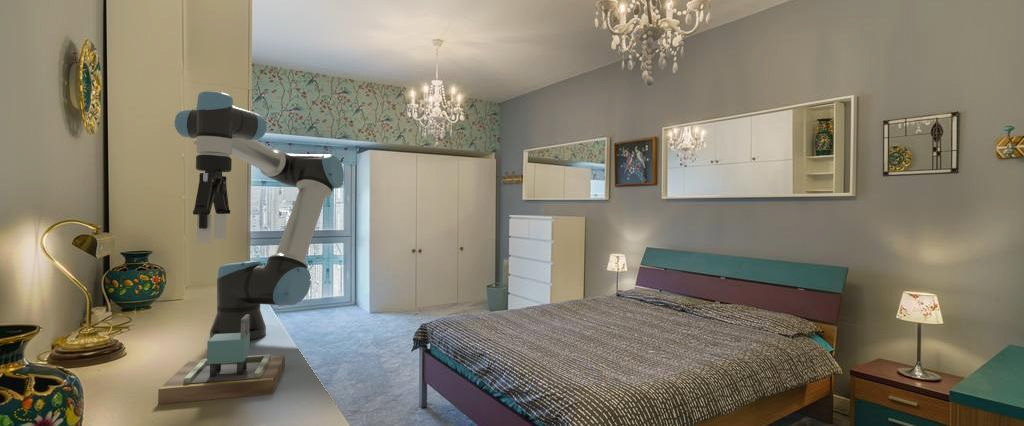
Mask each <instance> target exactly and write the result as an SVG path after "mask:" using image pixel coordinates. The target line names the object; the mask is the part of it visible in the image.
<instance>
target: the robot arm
mask: <svg viewBox="0 0 1024 426" xmlns="http://www.w3.org/2000/svg"><path fill="white" fill-rule="evenodd" d="M196 102H197V103H196V107H195V109H193V108H192V109H187V110H181V111H179V112H177V114H176V115H175V118H174V127H175V130H176V132H177V133H178V134H179V135H180V136H182V137H184V138H187V139H188V138H190V139H196V140H194V141H193V144H194V145H195V146H196V147H195V148H196V149H195V150H196V153H197V155H196V157H195V169H196V171H199V175H198V177H199V180H198V187H197V193H196V198H195V203H194V208H193V210H192V214H193V215H197V218H196V220H197V222H196V223H197V224H196V225H197V226H196V227H197V228H196V243H197V244H198V243H199V244H202V243H203V244H204V243H207V244H208V243H212V220H213V239H214V240H215V239H217V240H220V239H222V240H225V239H227V220H228V219H227V218H228V217H227V216H228V215H230V214H231V209H230V207H229V205H230V204H229V194H228V188H227V187H228V186H227V176H223V173H230V172H232V167H233V165H232V163H233V162H232V161H233V160H232V158H231V157H230V156H233V157H235V158H237V159H239V160H241V161H243V162H245V163H247V164H249V165H250V166H253V167H255V168H257V169H259V171H260V173H261V174H262V175H264V176H266V177H268V178H269V179H272V180H274V181H276V182H279V183H281V184H283V185H287V186H290V187H294V188H297V190H298V193H297V196H296V199H295V201H294V204H293V205H292V206H293V207H292V208H291V212H290V214H289V218H288V220H287V222H286V226H285V227H284V231H283V233H282V236H281V240H280V242H279V244H278V248H276V249H277V250H276V253H275V254H272V255H270V256H269V257H268V258H267V261H266V264H265V265H262V264H263V263H262V261H261V260H248V261H246V260H245V261H241V262H232V263H225V264H222V265H220V266H219V267H218V270H217V278H216V284H217V286H216V290H217V291H216V292H217V293H216V314H215V318H214V319H213V322H212V325H211V328H210V330H209V340H210V339H211V338H212V337H213V336H214V335H215V334H228V333H241V319H242V318H243V317H244V316H245V315H246V314H250V317H249V332H250V341H252V340H255V339H260V338H262V337H265V335H266V334H267V325H266V322H265V319H264V316H263V314H262V312H261V305H270V306H271V305H272V306H273V305H274V306H279V307H285V306H295V305H297V304H298V303H301V302H302V301H303V300H304V299H305V297H306V296H307V295H308V293H309V290H310V288H311V283H312V282H311V279H312V276H311V273H310V271H309V270H308V265H307V263H306V261H305V259H306V258H307V254H308V252H309V249H310V245H311V243H312V239H313V236H314V233H315V230H316V227H317V225H318V224H317V223H318V222H319V218H320V216H321V212H322V209H323V207H324V203H325V200H326V199H328V198H330V197H331V196H332V193H333V191H334V189H339V188H341V187H342V185H343V184H344V181H345V180H344V178H345V173H344V167H343V164H342V162H341V160H340V159H339V157H338V156H336V155H335V154H326V153H322V154H309V153H308V154H306V153H305V154H303V153H301V154H300V153H286V152H283V151H282V150H279V149H272V148H270V147H268V145H267V146H266V145H265V144H263V143H261V142H259V141H258V140H260V139H261V138H263V137H264V136H265V134H266V132H267V122H266V120H265V118H264V117H263V116H262V115H261V114H258V113H256V112H255V111H252V110H251V111H250V110H247V109H243V108H240V107H236V106H234V104H235V103H234V100H233V97H232V96H231V95H230V94H227V93H225V92H219V91H210V90H209V91H207V90H206V91H202V92H200V93H199V94H197V101H196ZM200 171H201V172H200ZM213 206H214V207H213ZM212 207H213V208H214V212H215V213H214V214H213V215H211V211H212ZM212 218H213V219H212Z"/></svg>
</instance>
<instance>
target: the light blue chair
mask: <svg viewBox="0 0 1024 426" xmlns="http://www.w3.org/2000/svg"><path fill="white" fill-rule="evenodd" d="M249 317H250V314H246V315H245V316H244V317H243V318H242V319H241V333H228V334H215V335H214V336H213V337H212V338H211V339H210V338H209V339H208V340H207V342H206V343H207V345H206V346H207V347H206V349H207V350H206V351H207V353H206V354H207V356H206V359H207V364H210V377H215V376H216V371H220V370H221V363H235V362H237V375H242V374H243V369H246V368H247V356H250V343H251V342H250V341H251V340H250V332H249Z"/></svg>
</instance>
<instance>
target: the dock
mask: <svg viewBox="0 0 1024 426" xmlns="http://www.w3.org/2000/svg"><path fill="white" fill-rule="evenodd" d="M285 357H286V356H285V354H280V355H271V354H270V353H269V354H257V355H248V356H247V368H246V369H243V374H242V375H237V362H235V363H221V370H220V371H216V376H215V377H210V364H207V358H203V359H201V360H191V361H187V362H186V363H185V364H184V365H183V366H182V367H181V368H180V369H179V370H177V371H176V373H174V374H173V375H172V376H171V377H170V378H169V379H168V380H166V382H165V383H163V384H162V385H161V386H159V388H158V390H157V391H158V393H157V394H158V395H157V404H158V405H161V404H162V405H165V404H175V403H185V402H195V401H197V402H198V401H206V400H207V401H209V400H218V399H231V398H232V399H233V398H241V397H242V398H243V397H252V396H253V397H254V396H263V395H273V394H274V391H275V389H276V388H277V384H278V382H279V380H280V378H281V376H282V374H283V371H284V369H285V364H286V363H285Z"/></svg>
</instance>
